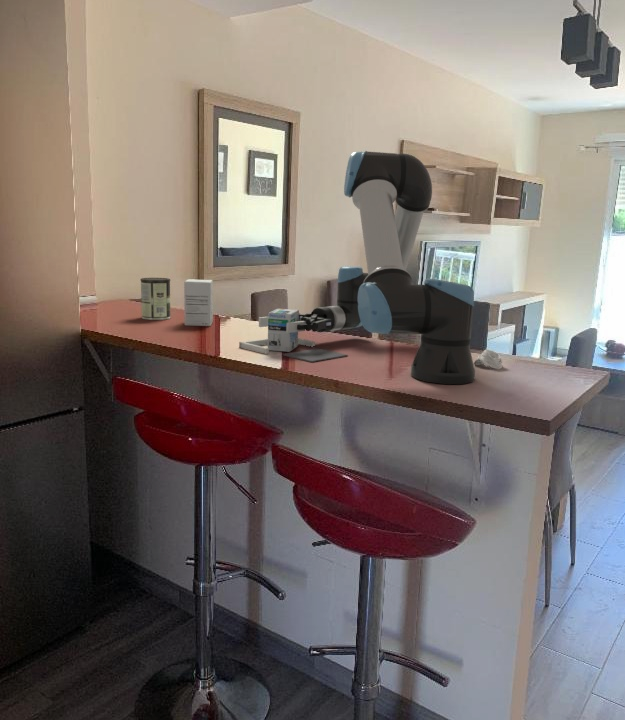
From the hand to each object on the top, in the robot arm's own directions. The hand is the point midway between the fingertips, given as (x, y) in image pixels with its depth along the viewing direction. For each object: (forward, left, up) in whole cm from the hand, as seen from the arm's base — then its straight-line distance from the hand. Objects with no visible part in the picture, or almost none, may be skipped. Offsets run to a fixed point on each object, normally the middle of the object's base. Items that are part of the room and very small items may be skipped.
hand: (273, 325), depth 179 cm
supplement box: (+49, -10, -7) cm, 51 cm away
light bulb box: (0, -4, -7) cm, 8 cm away
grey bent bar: (+2, -4, -7) cm, 8 cm away
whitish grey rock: (-49, -33, -7) cm, 60 cm away
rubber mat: (-13, -4, -7) cm, 15 cm away
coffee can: (+68, -5, -7) cm, 69 cm away
